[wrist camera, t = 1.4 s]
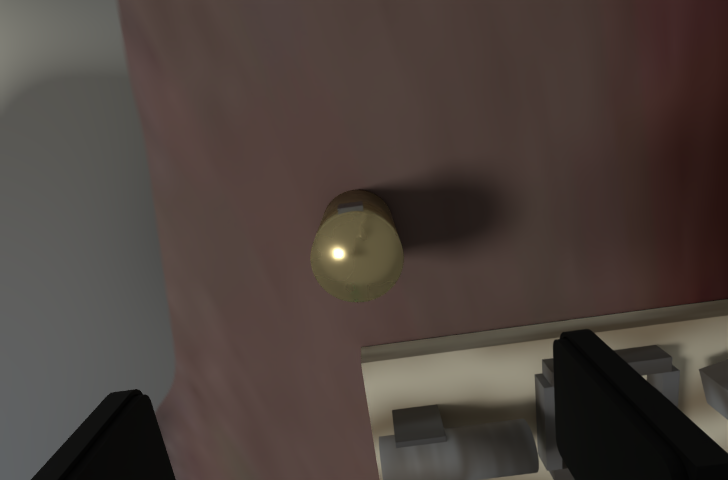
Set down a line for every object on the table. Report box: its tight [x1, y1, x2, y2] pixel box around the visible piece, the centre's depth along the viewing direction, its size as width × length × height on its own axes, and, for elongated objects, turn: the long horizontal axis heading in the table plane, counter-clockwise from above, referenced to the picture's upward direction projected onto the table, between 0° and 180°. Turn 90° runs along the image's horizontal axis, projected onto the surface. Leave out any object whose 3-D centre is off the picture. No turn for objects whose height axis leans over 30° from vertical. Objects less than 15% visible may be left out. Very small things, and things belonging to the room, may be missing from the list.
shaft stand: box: [361, 299, 728, 480], centre depth 28 cm, size 11×30×6 cm, turn 98°
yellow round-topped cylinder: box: [311, 190, 404, 302], centre depth 24 cm, size 5×4×7 cm
